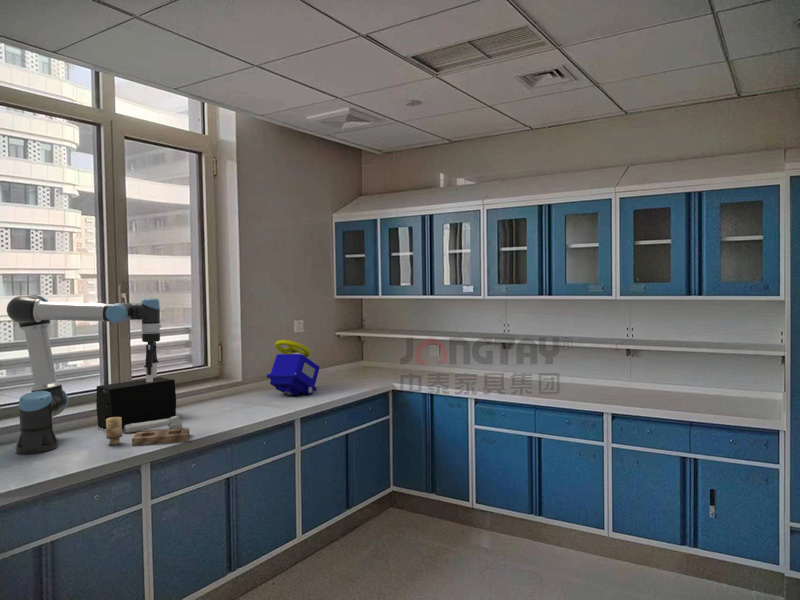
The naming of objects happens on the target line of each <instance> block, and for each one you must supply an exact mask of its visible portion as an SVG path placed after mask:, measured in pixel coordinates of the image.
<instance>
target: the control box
mask: <svg viewBox="0 0 800 600" xmlns="http://www.w3.org/2000/svg"><path fill="white" fill-rule="evenodd" d="M282 346H287V347H285V348H283V347H282ZM274 348H275V350H277V351H278V352H280V353H279V354H278V353H277V354H276V356H275V358H274V363H273V364H272V365H273V366H272V368H271V372H268V373H267V375H266V378H267V379H269V380H270V381H269V384H270V385H271V386H273V387H274V388H275V390H276V391H277V390H278V391H279V392H282V393H283V394H284V395H285V394H286V396H288V395H289V396H295V395H296V397H298V395H299V393H301V394H302V395H303V394H307V395H309V396H310V395H312V394H313V392H316V391H317V386H316V383H317V379H318V375H319V372H320V368H321V367H320V366H319V365H318V364H316V363H315V362H314V361H312V360H311V359H310V358H308V357H309V356H310V354H311V351H310V349H309V347H307V346H306V345H304V344H301V342H300V343H299V342H297V341H294V340H288V339H279V340H277V341H276V342H275V344H274ZM281 353H282V354H281Z"/></svg>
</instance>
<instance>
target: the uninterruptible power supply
mask: <svg viewBox="0 0 800 600" xmlns="http://www.w3.org/2000/svg"><path fill="white" fill-rule="evenodd" d="M95 408H96V419H97V427H98V428H99V427H100V428H99V429H101V428H103V429H102V430H104V429H106V419H107V418H111V417H121V418H122V429H123V430H124V425H129V424H132V423H133V424H134V423H141V422H148V421H155V420H161V419H168V418H171V417H174V416H177V413H176V412H177V394H176V383H175V379H173V378H172V379H171V378H166V377H165V378H164V377H162V376H157V377H153V382H146V378H143V379H137V380H130V381H129V380H128V381H123V382H117V383H109V384H102V385H96V406H95Z"/></svg>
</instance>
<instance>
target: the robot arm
mask: <svg viewBox="0 0 800 600" xmlns="http://www.w3.org/2000/svg"><path fill="white" fill-rule="evenodd" d="M160 306H161V305H160V300H159V299H158V298H142V299H141V302H138V303H137V302H136V303H135V302H120V303H119V302H118V303H117V302H116V303H92V302H91V303H89V302H87V303H85V302H65V301H64V302H61V301H60V302H59V301H58V302H57V301H49V300H48V299H47V298H45V297H44V296H42V295H38V294H37V295H36V294H30V295H19V296H16V297H13V298H12V299H11V300H10V301H9V302H8V303H7V306H6V313H7V316H8V318H10V320H12V321H13V322H15V323H18V325H19V329H21V330H22V331H23V332H24V335H25V341H26V345H27V351H28V357H29V362H30V366H31V367H30V368H31V373H32V378H33V379H32V380H33V384H34V385H33V387H32V388H31V391H30V392H26V393H25V394H23V395H21V396H20V398H19V401H18V410H19V413H18V414H19V415H18V416H19V435H18V437H17V438H18V439H17V443H16V445H15V453H17V454H20V455H31V454H34V455H35V454H40V453H45V452H50V451H53V450H54V449H57V448H58V447H59V440H58V437H57V436H56V434H55V431H54V429H53V428H54V427H53V417H55V416H58V415H60V414H61V413H62V412H64V410H65V409H66V407H67V406H68V403H69V396H68V394H67V392H66V391H65V390H64V389H63V386H62V383H61V382H59V381H58V380H57V375H56V370H55V369H56V367H55V364H54V357H53V352H52V347H51V342H50V337H49V336H50V335H49V331H48V327H49V326H50V325H51V321H73V322H74V321H76V322H109V323H110V322H111V323H114V324H115V323H116V324H117V323H122V322H125V321H136V320H138V321H139V320H141V332H142V334H141V341H142V342H143V343H147V344H145V363H144V366H143V368H144V369H145V379H146V382H153V378H157V377H158V373H157V371H158V370H157V367H158V363H159V360H158V356H157V355H158V354H157V352H158V351H157V342H160V341H161V333H160V332H161V328H162V325H161V322H160V321H161V317H160V316H161V313H160V312H161V308H160Z"/></svg>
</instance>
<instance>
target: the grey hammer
mask: <svg viewBox="0 0 800 600" xmlns="http://www.w3.org/2000/svg"><path fill="white" fill-rule="evenodd" d="M182 424H183V421H181V419H180V416H179V415H176V416H174V417H171V418H168V419H161V420H155V421H148V422H141V423H134V424H133V423H132V424H129V425H124V429H123V432H124V434H131V432H132V433H133V432H134V433H137V432H143V431H148V430H150V429H156V428H160V427H161V428H162V427H165V426H167V427H168V428H169V430H170V429H183V425H182Z"/></svg>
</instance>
